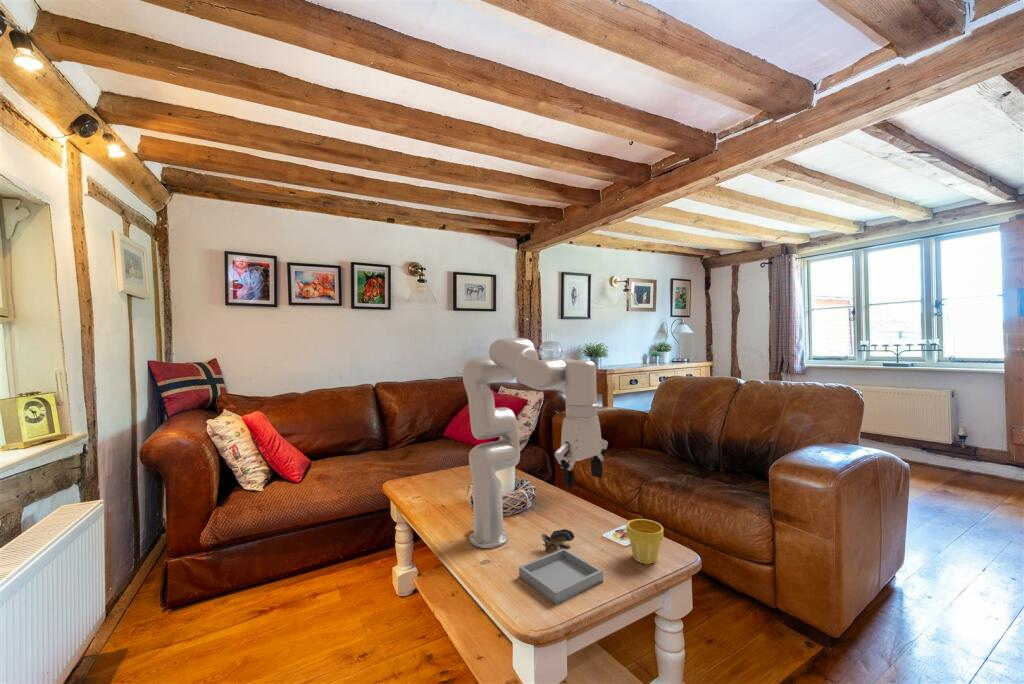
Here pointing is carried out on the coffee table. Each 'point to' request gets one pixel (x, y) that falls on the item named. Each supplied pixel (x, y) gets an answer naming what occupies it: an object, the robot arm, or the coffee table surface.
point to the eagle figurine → (557, 539)
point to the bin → (560, 575)
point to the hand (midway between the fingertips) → (583, 481)
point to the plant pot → (645, 539)
